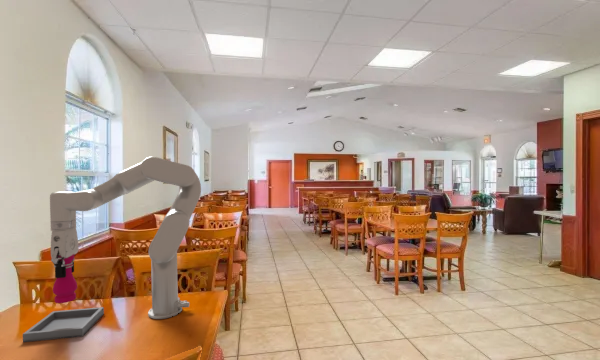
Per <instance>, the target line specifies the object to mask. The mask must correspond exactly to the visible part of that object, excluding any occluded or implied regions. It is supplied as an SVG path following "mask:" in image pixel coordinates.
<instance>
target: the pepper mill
mask: <svg viewBox="0 0 600 360" xmlns="http://www.w3.org/2000/svg"><path fill="white" fill-rule="evenodd" d="M58 258H63V257H61V256H58ZM73 259H74V260H75V256H74V254H73V255H72V256H70V257H68V258H65V265H64V266H66V277H64V278H55V281H54V284H53V287H52V292H53V294H54V295H55V296H54V302H55V303H56V304H66V303H70V302H73V301H74V300H76V298H77V293H76V292H75V291H76V290H77V289H78V283H77V280H76V279H75V277H74V275H73V273H72V266H73V265H72V264H73V262H74V261H72V260H73ZM59 260H60V261H61V262H62V259H59Z"/></svg>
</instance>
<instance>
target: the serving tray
mask: <svg viewBox="0 0 600 360" xmlns="http://www.w3.org/2000/svg"><path fill="white" fill-rule="evenodd" d="M104 314H105V308H104V307H103V306H100V307H91V308H90V307H89V308H78V309H67V310H65V309H63V310H53V311H52V312H49V314H48V315H46V316H45V317H44V318H42V319H41V320H40V321H38V322H36V324H34V325H33V326H31V327H30V328H29V329H27V330H26V331H25V332H22V343H29V342H41V341H50V340H58V339H59V340H61V339H69V338H71V339H72V338H80V337H84V336H85V335H86V334H87V332H89V330H90V329H91V328H92V327H93V326H94V325H95V324H96V323H97V322H98V321H99V320H100V318H102V317H103V315H104Z"/></svg>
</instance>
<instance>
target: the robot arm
mask: <svg viewBox="0 0 600 360" xmlns="http://www.w3.org/2000/svg"><path fill="white" fill-rule="evenodd" d="M155 181H156V182H160V183H164V184H169V185H173V186H175V187H177V186H178V187H179V189H178V193H177V194H176V196H175V199H174V201H173V203H172V205H171V206H170V209H169V210H168V212H167V213H166V215H165V216H164V218H162V219H163V220H162V222H161V224H160V226H159V227H158V229H157V231H156V234H155V235H154V237H153V239H152V240H151V242H150V244H149V247H148V256H149V258H150V260H151V261H150V262H151V263H150V264H151V267H150V268H151V272H150V273H151V277H150V278H151V305H152V306H151V308H150V309H149V310H148V312H147V315H148V316H147V317H149V318H151V319H153V320H154V319H155V320H163V319H168V318H169V319H170V318H172V316H173V317H175V316H177V315H179V314H180V313H182V312H183V308H190V301H188V300H180V299H181V298H180V297H179V294H178V290H179V288H178V250H179V248H180V246H181V245H182V242H183V240H184V238H185V236H186V234H187V232H188V229H189V228H190V227H189V226H190V220H191V217H192V215H193V213H194V211H195V209H196V207H197V204H198V203H199V200H200V198H201V197H200V196H201V193H202V185H201V180H200V177H199V176H198V174H197V173H196V171H195V170H194V168H193V167H191V166H190V165H187V164H184V163H180V162H176V161H175V162H174V161H173V160H172V161H171V160H167V159H164V158H160V157H157V156H148V157H146V158H144V159H143V160H142V161H141V162H139V163H137V164H135V165H132V166H130V167H128V168H126V169H123V170H121V171H120V172H118V173H116V174H115V175H114V176H113V177H112V178H110V179H109V180H107V181H105V182H103V183H101V184H98V185H96V186H94V187H92V188H90V189H85V190H80V191H70V190H69V191H68V190H66V191H65V190H64V191H61V190H60V191H54V192H51V193H50V194H49V216H50V217H49V218H50V219H49V220H50V232H51V235H50V257H51V260H50V261H51V262H52V264H53V267H54V278H55V279H57V278H64V277H66V266H64V265H65V258H68V257H70V256H72V255H73V254H74V257H75V256H76V254H77V253H78V252H79V250H80V249H79V240H78V239H79V237H78V232H77V212H89V211H92V210H95V209H97V208H99V207H101V206H103V205H105V204H107V203H110V202H112V201H113V200H115V199H117V198H120V197H122V196H126V195H127V194H131V192H134V191H135V190H138V189H140V188H142V187H144V186H146V185H148V184H150V183H153V182H155ZM58 256H61V257H63V258H58ZM59 259H62V262H61V261H60V260H59ZM72 262H73V264H72V265H73V266H72V274H73V273H74V272H75V258H74V259H73V260H72ZM178 313H179V314H178Z"/></svg>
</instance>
